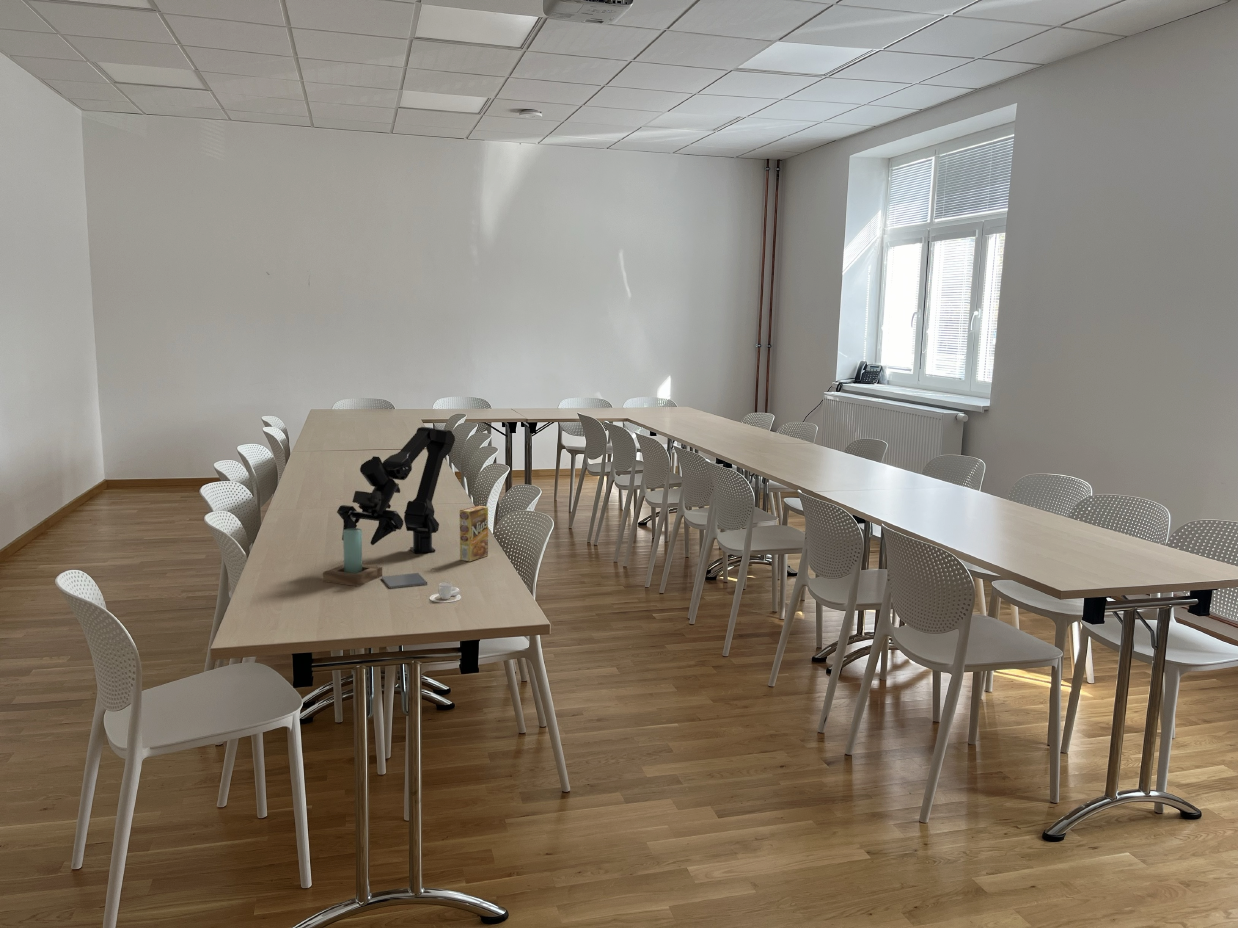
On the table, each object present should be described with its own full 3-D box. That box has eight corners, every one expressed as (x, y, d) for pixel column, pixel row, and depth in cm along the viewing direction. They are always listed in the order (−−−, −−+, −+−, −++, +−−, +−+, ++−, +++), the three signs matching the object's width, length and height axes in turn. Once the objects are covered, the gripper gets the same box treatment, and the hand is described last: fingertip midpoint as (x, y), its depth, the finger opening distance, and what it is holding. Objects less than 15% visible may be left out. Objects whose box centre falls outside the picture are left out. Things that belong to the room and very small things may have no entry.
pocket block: (349, 571, 244) (349, 562, 243) (382, 575, 240) (382, 566, 239) (323, 581, 233) (323, 572, 233) (357, 586, 230) (357, 577, 229)
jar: (342, 577, 238) (341, 529, 236) (360, 575, 240) (359, 527, 238) (345, 581, 233) (344, 532, 231) (364, 579, 236) (363, 531, 234)
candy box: (470, 562, 256) (470, 511, 254) (458, 560, 258) (459, 509, 256) (488, 555, 264) (489, 506, 262) (477, 553, 266) (477, 504, 264)
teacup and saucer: (453, 592, 228) (453, 577, 227) (469, 599, 222) (469, 584, 222) (423, 598, 222) (423, 582, 222) (439, 606, 216) (439, 590, 216)
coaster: (381, 578, 237) (381, 576, 237) (418, 574, 242) (418, 572, 242) (389, 588, 228) (389, 586, 228) (427, 584, 233) (427, 582, 233)
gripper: (340, 476, 243) (315, 522, 234) (397, 482, 237) (373, 529, 228) (358, 499, 251) (334, 544, 242) (413, 505, 245) (391, 552, 236)
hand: (357, 542), depth 237 cm, fingers open, 9 cm apart
